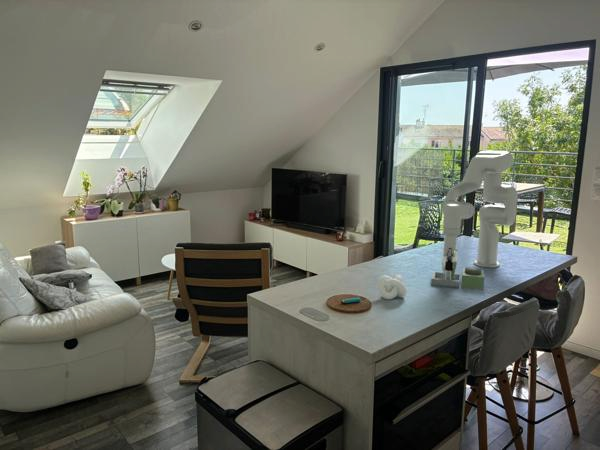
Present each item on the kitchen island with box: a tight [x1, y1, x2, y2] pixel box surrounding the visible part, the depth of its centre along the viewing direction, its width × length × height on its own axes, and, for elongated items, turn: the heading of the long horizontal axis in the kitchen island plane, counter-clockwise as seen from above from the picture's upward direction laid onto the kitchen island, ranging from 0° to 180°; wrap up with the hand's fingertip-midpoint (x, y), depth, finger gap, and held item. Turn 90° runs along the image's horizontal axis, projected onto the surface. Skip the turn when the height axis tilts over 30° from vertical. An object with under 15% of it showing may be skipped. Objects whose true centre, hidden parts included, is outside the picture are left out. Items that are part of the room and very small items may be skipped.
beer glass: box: [441, 248, 459, 280], centre depth 215 cm, size 7×7×15 cm
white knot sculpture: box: [377, 274, 408, 300], centre depth 196 cm, size 11×12×9 cm
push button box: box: [431, 266, 485, 291], centre depth 214 cm, size 12×22×8 cm, turn 71°
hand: (448, 267), depth 215 cm, fingers open, 9 cm apart
